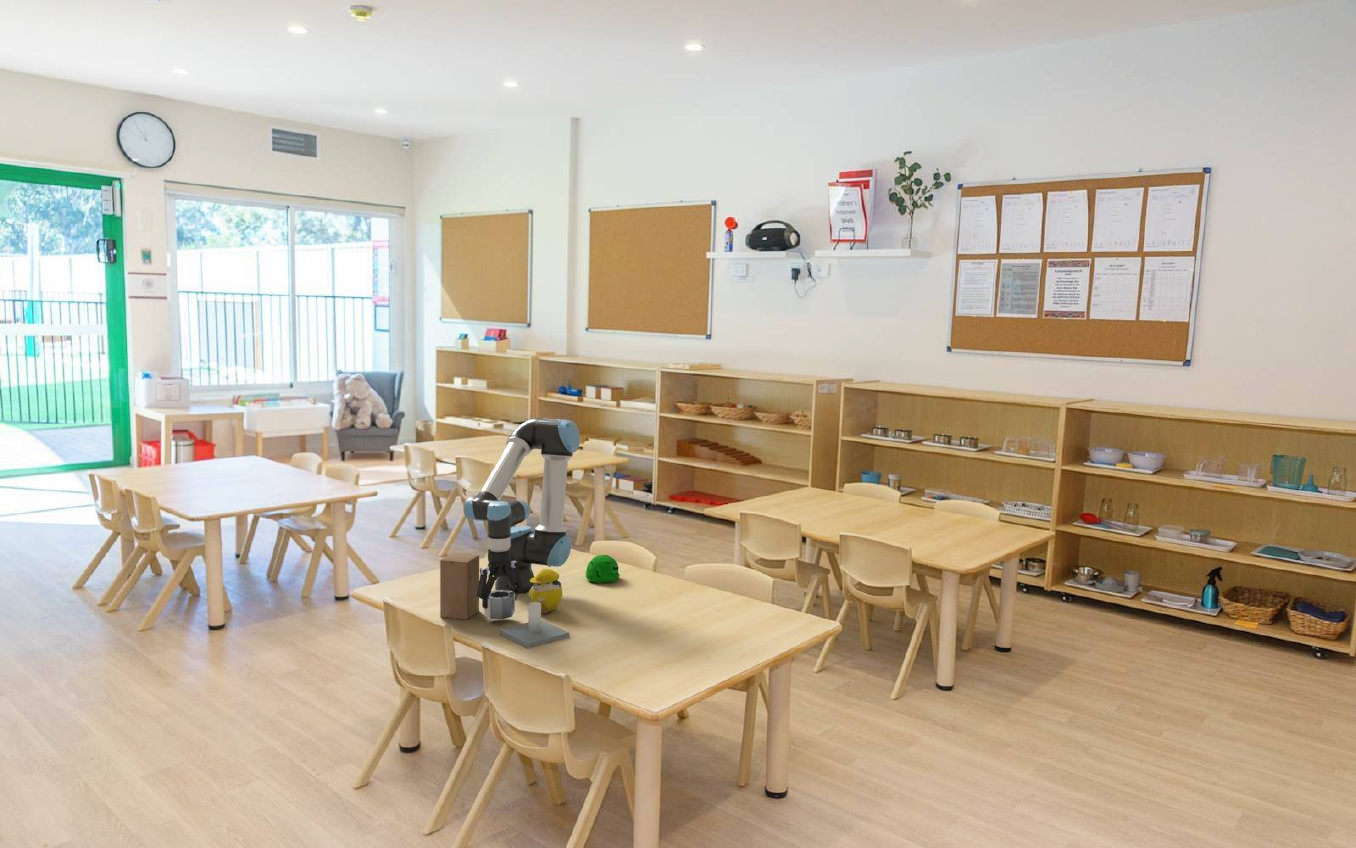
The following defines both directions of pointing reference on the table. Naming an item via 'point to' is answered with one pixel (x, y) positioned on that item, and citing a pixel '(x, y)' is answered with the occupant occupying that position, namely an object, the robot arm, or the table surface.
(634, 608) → the table surface
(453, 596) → the wooden block
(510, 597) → the collar ring
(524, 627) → the piston post
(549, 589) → the toy
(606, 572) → the toy
